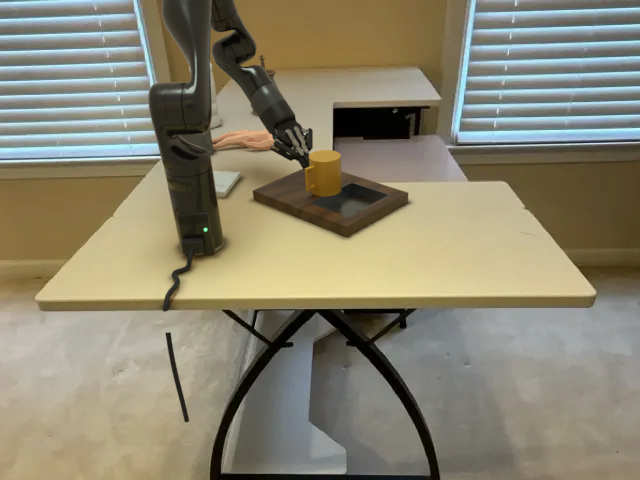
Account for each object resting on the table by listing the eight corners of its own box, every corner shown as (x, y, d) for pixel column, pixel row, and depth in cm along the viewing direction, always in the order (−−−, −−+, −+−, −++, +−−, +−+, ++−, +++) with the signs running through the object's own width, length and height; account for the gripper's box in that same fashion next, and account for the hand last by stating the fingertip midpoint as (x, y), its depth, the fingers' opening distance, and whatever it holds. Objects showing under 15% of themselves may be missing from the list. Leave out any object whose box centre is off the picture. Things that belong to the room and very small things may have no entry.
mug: (325, 181, 146) (324, 147, 141) (348, 189, 142) (347, 154, 137) (296, 194, 141) (294, 159, 136) (318, 202, 137) (317, 167, 132)
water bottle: (194, 126, 192) (180, 41, 177) (212, 120, 196) (199, 37, 181) (206, 131, 188) (193, 44, 173) (225, 125, 192) (213, 40, 177)
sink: (309, 212, 138) (308, 202, 137) (351, 191, 147) (351, 181, 146) (348, 227, 132) (348, 217, 130) (390, 204, 140) (390, 194, 139)
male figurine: (210, 129, 178) (293, 119, 177) (214, 145, 181) (296, 135, 180) (205, 142, 170) (292, 131, 168) (209, 159, 173) (294, 148, 171)
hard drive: (240, 177, 157) (225, 197, 147) (211, 176, 158) (194, 196, 148) (240, 171, 156) (224, 191, 146) (210, 170, 157) (193, 189, 147)
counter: (253, 200, 145) (252, 190, 144) (315, 172, 158) (315, 163, 156) (346, 237, 128) (346, 226, 127) (408, 202, 141) (408, 192, 139)
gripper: (257, 106, 135) (299, 171, 135) (299, 92, 143) (338, 153, 143) (245, 125, 141) (285, 187, 142) (285, 111, 149) (323, 170, 149)
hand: (311, 170), depth 142 cm, fingers closed
